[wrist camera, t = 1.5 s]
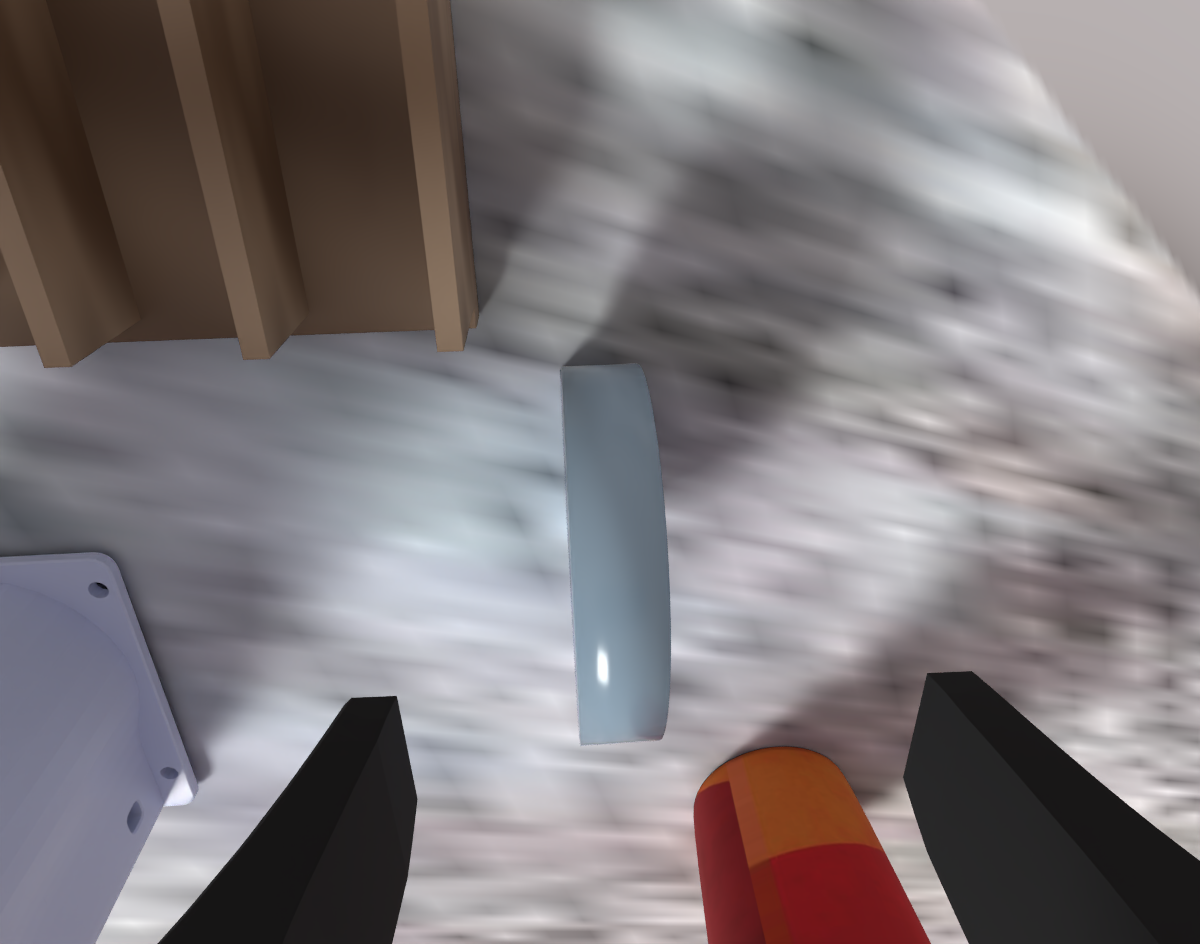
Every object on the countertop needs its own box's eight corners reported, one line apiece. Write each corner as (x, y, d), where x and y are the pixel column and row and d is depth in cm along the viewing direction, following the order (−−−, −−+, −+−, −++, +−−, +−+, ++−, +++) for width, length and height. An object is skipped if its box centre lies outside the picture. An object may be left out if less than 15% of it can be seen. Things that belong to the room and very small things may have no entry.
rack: (479, 315, 19) (465, 374, 16) (-19, 334, 19) (-148, 400, 15) (430, -218, 15) (394, -303, 11) (-237, -215, 14) (-497, -303, 10)
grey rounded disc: (624, 577, 23) (665, 828, 16) (569, 580, 23) (585, 834, 16) (622, 309, 19) (676, 472, 12) (557, 312, 19) (570, 477, 12)
